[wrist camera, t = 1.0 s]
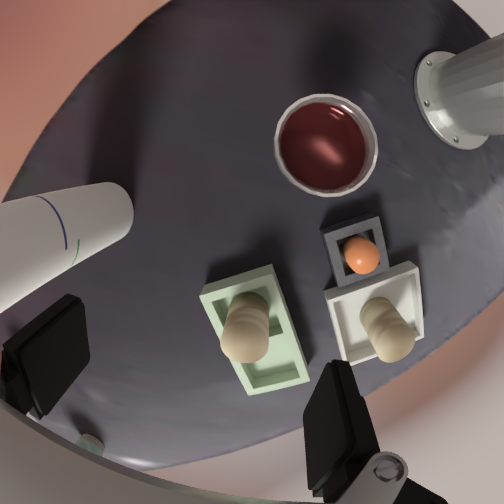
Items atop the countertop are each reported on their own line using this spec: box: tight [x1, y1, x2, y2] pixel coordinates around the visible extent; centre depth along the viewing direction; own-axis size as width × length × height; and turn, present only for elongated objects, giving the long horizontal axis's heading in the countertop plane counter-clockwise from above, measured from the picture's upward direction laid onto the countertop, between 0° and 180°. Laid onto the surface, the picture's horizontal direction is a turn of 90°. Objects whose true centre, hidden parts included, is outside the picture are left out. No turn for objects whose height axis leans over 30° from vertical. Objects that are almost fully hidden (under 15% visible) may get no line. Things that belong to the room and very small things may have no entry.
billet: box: [359, 297, 416, 362], centre depth 29 cm, size 4×4×7 cm
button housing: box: [320, 212, 390, 288], centre depth 29 cm, size 6×6×2 cm
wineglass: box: [273, 94, 378, 197], centre depth 22 cm, size 7×7×12 cm
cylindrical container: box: [0, 182, 134, 313], centre depth 19 cm, size 7×7×25 cm
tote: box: [324, 260, 424, 366], centre depth 31 cm, size 11×10×2 cm
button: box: [343, 236, 380, 274], centre depth 27 cm, size 3×3×3 cm
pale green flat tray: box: [199, 264, 310, 395], centre depth 32 cm, size 8×15×3 cm, turn 20°
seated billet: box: [220, 292, 269, 363], centre depth 29 cm, size 4×4×7 cm
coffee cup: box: [75, 434, 105, 457], centre depth 40 cm, size 8×8×12 cm
